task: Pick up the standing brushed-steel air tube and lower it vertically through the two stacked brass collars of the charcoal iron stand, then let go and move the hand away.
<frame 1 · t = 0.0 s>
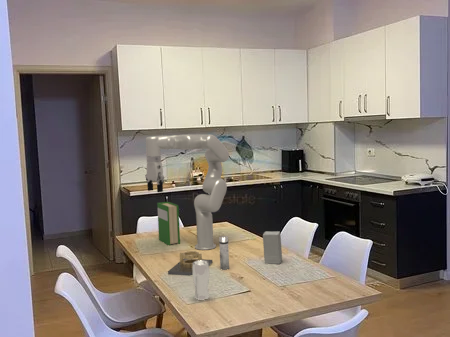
hand: (155, 191, 243), 37 cm above the table, tool pointing down, fingers open, 9 cm apart
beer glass: (201, 298, 186), on the table
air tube: (224, 268, 225), on the table
skincare box: (272, 262, 233), on the table
collar stand: (191, 268, 228), on the table
hardback book: (169, 242, 284), on the table
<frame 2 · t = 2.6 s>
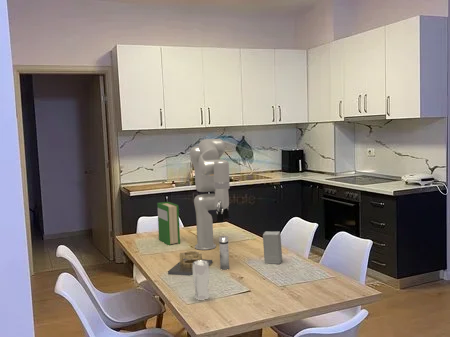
hand: (223, 220, 223), 24 cm above the table, tool pointing down, fingers open, 9 cm apart
nothing on the table moved.
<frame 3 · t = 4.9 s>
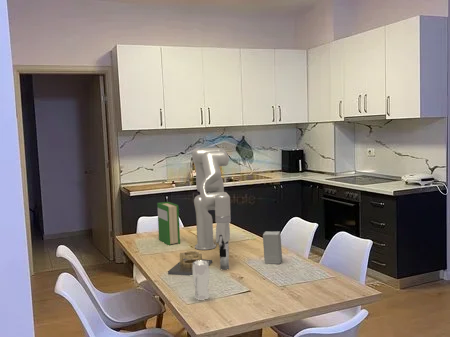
hand: (224, 255, 225), 7 cm above the table, tool pointing down, fingers closed on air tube, 4 cm apart
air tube: (224, 268, 225), on the table, touching gripper
everything else where it was.
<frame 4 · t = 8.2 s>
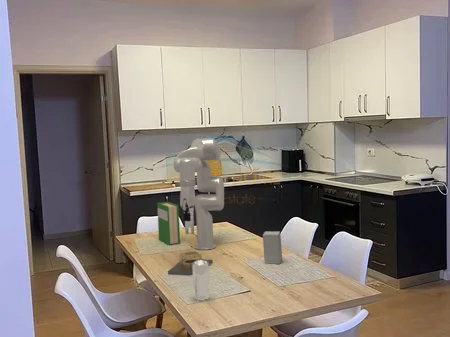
hand: (189, 219, 225), 25 cm above the table, tool pointing down, fingers closed on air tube, 4 cm apart
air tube: (189, 233, 226), point 18 cm above the table, touching gripper
everything else where it was.
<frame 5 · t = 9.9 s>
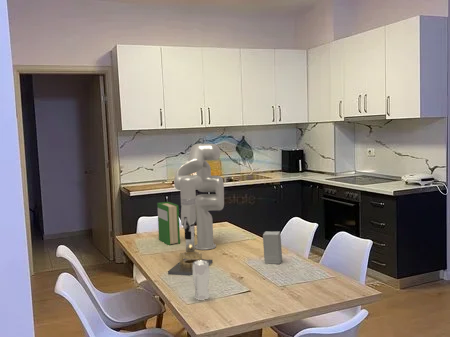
hand: (189, 237, 226), 16 cm above the table, tool pointing down, fingers closed on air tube, 4 cm apart
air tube: (190, 251, 227), point 9 cm above the table, touching gripper
everything else where it was.
when the fingers open (9 cm above the table, at t = 11.5 s): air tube stays where it is, resting on collar stand.
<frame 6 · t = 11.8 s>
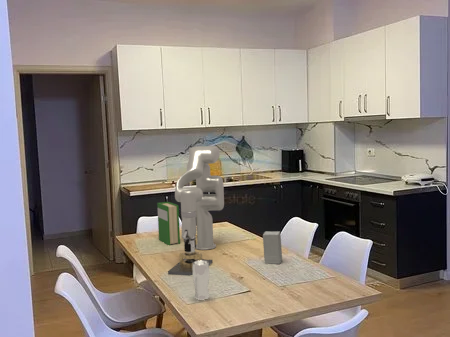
hand: (190, 249, 227), 10 cm above the table, tool pointing down, fingers open, 6 cm apart
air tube: (191, 265, 228), point 2 cm above the table, touching collar stand
everything else where it was.
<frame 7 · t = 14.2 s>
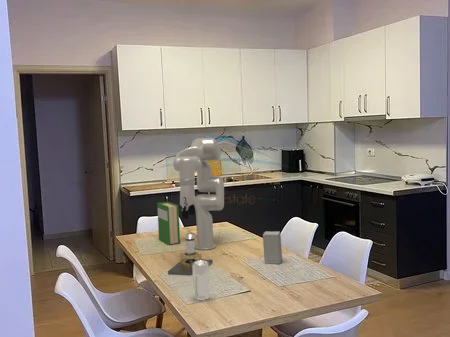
hand: (188, 216, 226), 26 cm above the table, tool pointing down, fingers open, 9 cm apart
nothing on the table moved.
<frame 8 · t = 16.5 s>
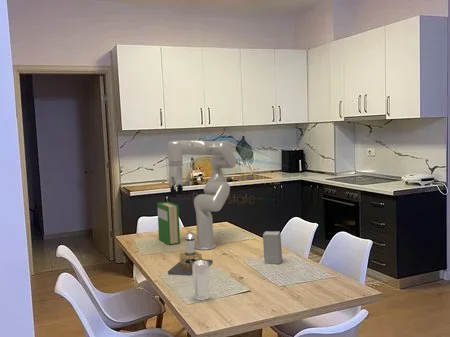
hand: (176, 195, 245), 34 cm above the table, tool pointing down, fingers open, 9 cm apart
nothing on the table moved.
at the end: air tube 0.1 cm off-centre on the collar stand, point 1.5 cm above the collar stand's base; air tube tilted 0°; the gripper is holding nothing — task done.
